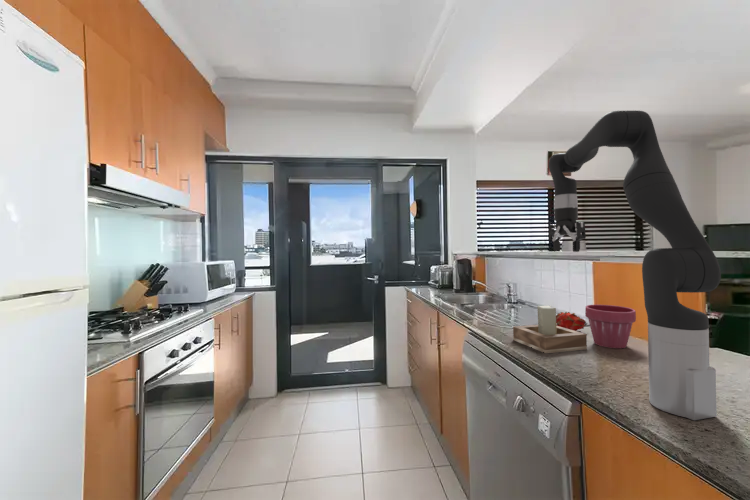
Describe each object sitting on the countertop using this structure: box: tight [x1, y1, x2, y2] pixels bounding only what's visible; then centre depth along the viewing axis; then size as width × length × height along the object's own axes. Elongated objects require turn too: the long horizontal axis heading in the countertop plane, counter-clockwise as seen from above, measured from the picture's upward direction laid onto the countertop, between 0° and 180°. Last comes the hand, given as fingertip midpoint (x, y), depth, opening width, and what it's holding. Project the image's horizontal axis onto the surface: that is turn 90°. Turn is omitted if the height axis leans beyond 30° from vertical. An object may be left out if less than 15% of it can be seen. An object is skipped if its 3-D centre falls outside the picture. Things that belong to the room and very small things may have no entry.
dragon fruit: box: [556, 311, 588, 333], centre depth 129 cm, size 8×8×12 cm
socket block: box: [512, 324, 588, 354], centre depth 112 cm, size 16×16×5 cm
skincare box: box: [537, 305, 557, 335], centre depth 112 cm, size 6×4×12 cm
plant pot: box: [584, 304, 637, 349], centre depth 111 cm, size 14×14×13 cm
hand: (566, 251), depth 118 cm, fingers open, 8 cm apart
